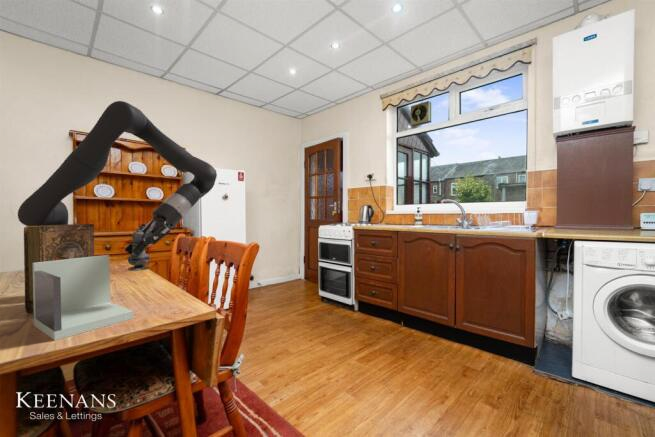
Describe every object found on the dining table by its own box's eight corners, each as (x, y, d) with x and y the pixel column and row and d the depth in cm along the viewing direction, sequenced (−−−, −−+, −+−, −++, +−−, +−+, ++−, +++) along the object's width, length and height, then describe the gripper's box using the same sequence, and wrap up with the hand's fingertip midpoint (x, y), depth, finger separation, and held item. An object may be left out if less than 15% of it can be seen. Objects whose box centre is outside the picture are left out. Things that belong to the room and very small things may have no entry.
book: (85, 297, 97) (83, 223, 96) (98, 298, 96) (97, 223, 95) (25, 315, 81) (23, 226, 80) (40, 316, 80) (38, 226, 79)
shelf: (34, 325, 73) (32, 262, 73) (108, 307, 87) (107, 254, 86) (54, 340, 65) (53, 269, 64) (133, 318, 78) (132, 259, 78)
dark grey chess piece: (145, 270, 82) (145, 228, 81) (122, 271, 81) (122, 228, 80) (154, 266, 88) (153, 227, 87) (132, 267, 87) (132, 227, 86)
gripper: (152, 202, 94) (108, 242, 84) (177, 201, 86) (132, 246, 76) (168, 218, 98) (129, 258, 88) (193, 219, 91) (153, 263, 81)
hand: (131, 252), depth 82 cm, fingers closed on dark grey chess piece, 3 cm apart
